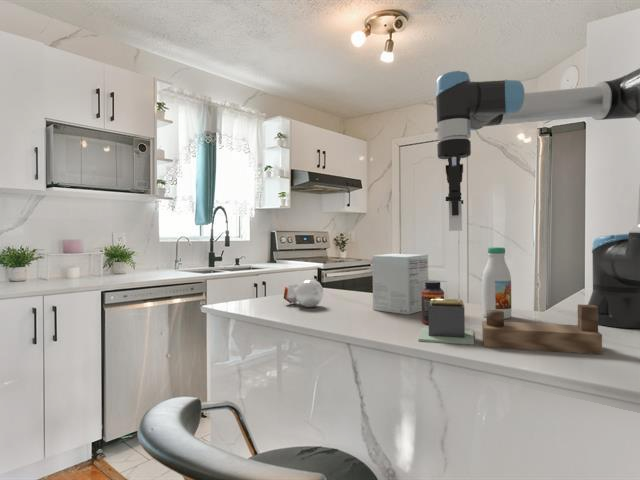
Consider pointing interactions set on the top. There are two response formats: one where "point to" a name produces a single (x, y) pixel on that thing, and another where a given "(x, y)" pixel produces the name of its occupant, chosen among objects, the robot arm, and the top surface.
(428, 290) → the supplement bottle
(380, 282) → the supplement box
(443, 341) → the mat
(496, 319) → the plane body
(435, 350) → the top surface
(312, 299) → the potion bottle
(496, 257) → the milk bottle
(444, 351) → the top surface
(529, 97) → the robot arm
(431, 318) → the lever cap
